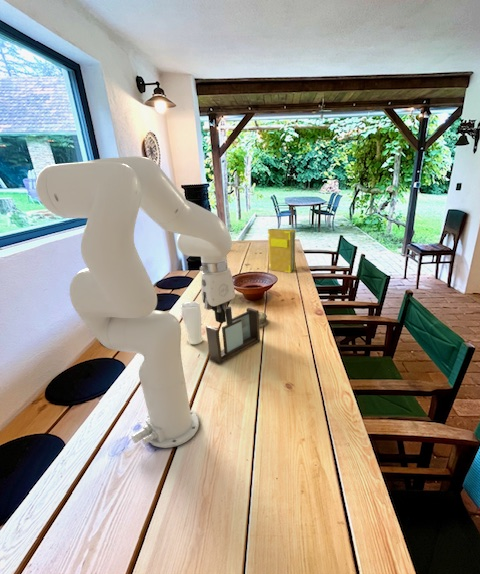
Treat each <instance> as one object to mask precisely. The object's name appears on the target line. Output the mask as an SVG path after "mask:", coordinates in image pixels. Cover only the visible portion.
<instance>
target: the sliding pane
mask: <svg viewBox="0 0 480 574" xmlns="http://www.w3.org/2000/svg"><path fill="white" fill-rule="evenodd" d="M225 315H226V322H225V324H226V325H224V326H222V327H221V332H222V340H223V341H222V342H223V349H224V352H225V354H226V353H228V352H230V351H231V350H233V349H235V348H237V347H239V346H241V345H242V344H243V335H242V323H241V319H238V320H236V321H234V322H232V318H233V313H232V307H231V306H230V305H229V306H228V305H227V309H226V310H225Z"/></svg>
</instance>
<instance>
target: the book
mask: <svg viewBox="0 0 480 574" xmlns="http://www.w3.org/2000/svg"><path fill="white" fill-rule="evenodd" d="M267 244H268V266H269V267H268V268H269V270H271V271H276V272H284V273H289V274H290V273H293V272H294V271H296V229H285V228H283V229H282V228H268V229H267Z"/></svg>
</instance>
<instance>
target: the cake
mask: <svg viewBox="0 0 480 574" xmlns="http://www.w3.org/2000/svg"><path fill="white" fill-rule="evenodd" d="M267 318H268V316H267V314H266V313H264V312H262V311H259V328H263V327H265V326H267V325H268V319H267Z"/></svg>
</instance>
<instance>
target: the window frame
mask: <svg viewBox="0 0 480 574" xmlns="http://www.w3.org/2000/svg"><path fill="white" fill-rule="evenodd" d="M259 312H260V311H259V310H258V309H256V308H255V309H254V308H251V307H247V308H246V309H245V312H243V313H241V314H239V315H237V316H234V317H232V322H234V321H236V320H238V319H241V323H242V335H243V344H242V345H241V346H239V347H237V348H235V349H233V350H231V351H230V352H228V353H226V354H225V352H224V348H223V349H221V347H222V346H221V340H220V339H221V338H220V330H219V328H217V327H214V326H211V325H206V326H205V330H206V339H207V346H208V355H209V360H210V361H212V362H214V363H216V364H218V365H221V364H223V363H225V362H227V361H228V360H230V359H232V358H234V357H235V356H238V355H239V354H240V353H243V352H244V351H246V350H248V349H250V348H251V347H254V346H255V345H257V344H259V343H260V342H261V331H260V330H261V329H260V327H259Z"/></svg>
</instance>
